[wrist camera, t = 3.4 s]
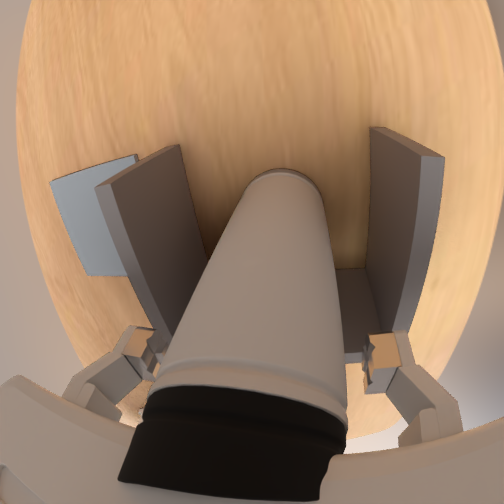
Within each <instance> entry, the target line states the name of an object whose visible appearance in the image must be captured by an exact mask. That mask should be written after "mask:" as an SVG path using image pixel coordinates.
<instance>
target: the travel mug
mask: <svg viewBox="0 0 504 504" xmlns="http://www.w3.org/2000/svg"><path fill="white" fill-rule="evenodd" d="M346 409H347V384H346V368H345V355H344V343H343V332H342V322H341V313H340V305H339V297H338V289H337V282H336V275H335V268H334V261H333V255H332V249H331V243H330V237H329V231H328V226H327V220H326V215H325V210H324V205H323V200H322V197H321V194H320V192H319V190H318V188H317V187H316V185H315V184H314V183H313V182H312V181H311V180H310V179H309V178H307V177H306V176H305V175H303V174H301V173H299V172H297V171H293V170H289V169H274V170H269V171H266V172H263V173H262V174H260V175H258V176H256V177H255V178H254V179H253V180H252V181H251V182H250V183H249V185H248V186H247V187H246V189H245V191H244V193H243V195H242V197H241V199H240V201H239V203H238V204H237V206H236V208H235V210H234V212H233V214H232V216H231V218H230V220H229V222H228V224H227V226H226V228H225V230H224V232H223V234H222V236H221V238H220V240H219V242H218V244H217V246H216V248H215V250H214V252H213V254H212V256H211V258H210V260H209V262H208V264H207V266H206V268H205V270H204V272H203V274H202V276H201V279H200V281H199V283H198V285H197V287H196V289H195V291H194V293H193V295H192V297H191V300H190V302H189V304H188V306H187V308H186V310H185V312H184V314H183V317H182V319H181V321H180V323H179V325H178V327H177V330H176V332H175V334H174V336H173V338H172V341H171V343H170V345H169V347H168V349H167V352H166V354H165V356H164V358H163V361H162V363H161V365H160V368H159V370H158V372H157V376H156V381H155V382H154V383H153V384H152V386H151V388H150V391H149V393H148V396H147V403H146V405H145V408H144V410H143V414H142V419H143V422H142V423H140V424H138V425H137V427H136V430H135V432H134V435H133V437H132V440H131V443H130V446H129V449H128V452H127V454H126V457H125V459H124V462H123V464H122V467H121V470H120V472H119V475H118V477H117V480H118V481H120V482H124V483H131V484H139V485H144V486H149V487H155V488H160V489H166V490H172V491H178V492H184V493H190V494H197V495H205V496H212V497H221V498H232V499H243V500H260V501H290V502H311V501H318V500H319V499H320V486H321V483H322V480H323V478H324V476H325V475H326V473H327V471H328V466H329V462H330V460H331V458H332V457H333V456H334V455H338V454H343V452H344V450H345V448H346V434H347V431H348V418H347V415H346Z"/></svg>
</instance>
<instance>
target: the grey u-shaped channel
mask: <svg viewBox="0 0 504 504" xmlns="http://www.w3.org/2000/svg"><path fill="white" fill-rule="evenodd" d="M370 161H371V177H370V212H369V229H368V243H367V254H366V264H365V268H358V269H335V275H336V282H337V289H338V297H339V305H340V313H341V322H342V332H343V343H344V355H345V364H349V363H362V350H363V347H364V346H365V345H366V343H365V337H366V334H367V333H374V332H385V331H398V330H406V332H407V334H408V332H409V329H410V326H411V324H412V321H413V318H414V315H415V312H416V309H417V305H418V302H419V299H420V296H421V292H422V289H423V285H424V281H425V278H426V274H427V270H428V266H429V262H430V257H431V253H432V248H433V244H434V239H435V233H436V228H437V222H438V216H439V210H440V202H441V195H442V186H443V176H444V163H445V157H443V156H441V155H440V154H438V153H436V152H434V151H432V150H430V149H429V148H427V147H425V146H423V145H421V144H419V143H417V142H415V141H413V140H411V139H409V138H407V137H405V136H403V135H401V134H399V133H396V132H394V131H392V130H390V129H388V128H385V127H370ZM94 190H95V193H96V196H97V199H98V202H99V205H100V208H101V211H102V213H103V216H104V219H105V222H106V224H107V227H108V230H109V232H110V235H111V238H112V240H113V243H114V245H115V248H116V250H117V252H118V255H119V257H120V260H121V262H122V264H123V267H124V269H125V271H126V273H127V276H128V278H129V280H130V282H131V284H132V287H133V289H134V291H135V293H136V295H137V297H138V299H139V301H140V303H141V305H142V307H143V309H144V311H145V313H146V315H147V317H148V319H149V321H150V323H151V325H152V327H153V329H159V330H161V332H162V334H163V337H162V338H163V339H164V340H165V341H167V343H168V345H170V343H171V341H172V338H173V336H174V334H175V332H176V330H177V327H178V325H179V323H180V321H181V319H182V317H183V314H184V312H185V310H186V308H187V306H188V304H189V302H190V300H191V297H192V295H193V293H194V291H195V289H196V287H197V285H198V283H199V281H200V279H201V276H202V274H203V272H204V270H205V268H206V266H207V264H208V261H207V257H206V253H205V250H204V246H203V242H202V238H201V234H200V230H199V227H198V223H197V219H196V215H195V211H194V207H193V202H192V198H191V194H190V190H189V186H188V181H187V177H186V173H185V168H184V164H183V159H182V155H181V150H180V146H179V144H178V145H174V146H169V147H165V148H163V149H161V150H159V151H157V152H155V153H153V154H151V155H149V156H147V157H146V158H144V159H142V160H140V161H138V162H136V163H135V164H133V165H131V166H129V167H127V168H126V169H124V170H122V171H120V172H119V173H117V174H115V175H114V176H112V177H110V178H109V179H107V180H105V181H104V182H102V183H100V184H99V185H97V186H96V187H94Z"/></svg>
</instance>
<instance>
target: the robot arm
mask: <svg viewBox="0 0 504 504" xmlns="http://www.w3.org/2000/svg"><path fill="white" fill-rule="evenodd" d="M162 337H163V334H162V332H161V330H159V329H152V328H145V327H138V326H131V325H130V326H128V327H127V328H126V329H125V331H124V333H123V334H122V336H121V338H120V339H119V341H118V343H117V344H116V346H115V348H114V350H113V351H112V352H109V353H107V354H106V355H104V356H103V357H101V358H100V359H98V360H97V361H95V362H94V363H92V364H91V365H89V366H88V367H86V368H85V369H83V370H82V371H80V372H79V373H77V374H76V375H74V376H73V378H72V379H71V381H70V383H69V384H68V386H67V388H66V390H65V392H64V393H63V395H62V397H60V396H58V395H56V394H54V393H52V392H50V391H48V390H46V389H45V388H43V387H41V386H39V385H37V384H36V383H34V382H32V381H31V380H29V379H27V378H26V377H24V376H22V375H16V376H14V377H13V378H11V379H9V380H8V381H7V382H5V383H4V384H2V385H1V386H0V504H504V417H501V418H499V419H497V420H494V421H492V422H489V423H487V424H484V425H482V426H479V427H476V428H473V429H471V430H467V431H463V427H462V421H461V416H460V411H459V407H458V402H457V400H456V399H454V397H452V396H451V394H449V393H448V392H447V391H446V390H445V389H444V388H443V387H442V386H441V385H440V384H439V383H438V382H437V381H436V380H435V379H434V378H433V377H432V376H431V375H430V374H429V373H428V372H427V371H425V370H424V369H423V368H422V367H421V366H420V365H416V364H415V360H414V356H413V352H412V349H411V345H410V341H409V338H408V334H407V332H406V330H398V331H385V332H374V333H367V334H366V337H365V343H366V345H365V346H364V347H363V350H362V370H363V371H364V372H365V376H364V379H363V383H364V393H365V394H377V393H386V395H387V397H388V398H389V399H390V400H391V402H392V403H393V404H394V406H395V407H396V408H397V410H398V411H399V412H400V414H401V415H402V416H403V418H404V419H405V420H406V422H407V423H408V424H409V426H408V427H407V428H406V429H405V430H404V431H403V432H402V433H401V435H400V436H399V437H398V443H399V448H394V449H387V450H381V451H372V452H364V453H353V454H338V455H334V456H333V457H332V458H331V460H330V462H329V466H328V471H327V473H326V475H325V476H324V478H323V480H322V483H321V486H320V499H319V500H318V501H311V502H290V501H260V500H243V499H232V498H221V497H212V496H205V495H197V494H190V493H184V492H178V491H172V490H166V489H160V488H155V487H149V486H144V485H139V484H131V483H124V482H120V481H118V480H117V477H118V475H119V472H120V470H121V467H122V464H123V462H124V459H125V457H126V454H127V452H128V449H129V446H130V443H131V440H132V437H133V435H134V432H135V430H136V428H135V427H132V426H129V425H126V424H123V423H120V422H119V420H120V418H121V416H122V412H121V411H120V410H119V409H118V408H117V407H116V406H115V405H116V404H117V403H118V402H119V401H120V400H122V399H123V398H124V397H125V396H126V395H127V394H128V393H129V392H130V391H132V390H133V389H134V388H135V387H136V386H137V385H138V384H139V383H140V382H141V381H142V380H148V381H153V382H155V381H156V376H157V372H158V370H159V368H160V365H161V363H162V361H163V358H164V356H165V354H166V352H167V349H168V347H169V345H168V343H167V341H165V340H164V339H163V338H162ZM144 408H145V407H144ZM144 408H143V409H139V412H138V413H139V414H140V415H141V417H140V420H139V424H140V423H142V422H143V419H142V414H143V410H144Z"/></svg>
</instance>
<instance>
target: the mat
mask: <svg viewBox="0 0 504 504" xmlns="http://www.w3.org/2000/svg"><path fill="white" fill-rule="evenodd" d="M136 162H138V157H137V154H135V155H131V156H127V157H124V158H120V159H116V160H113V161H109V162H106V163H103V164H99V165H96V166H93V167H90V168H87V169H84V170H81V171H78V172H75V173H72V174H69V175H66V176H64V177H61V178H58V179H55V180H53V181H51V182H49V183H50V186H51V189H52V192H53V195H54V198H55V201H56V203H57V206H58V209H59V212H60V214H61V217H62V219H63V222H64V224H65V227H66V229H67V232H68V234H69V237H70V239H71V241H72V244H73V246H74V248H75V250H76V253H77V255H78V257H79V259H80V261H81V263H82V265H83V267H84V269H85V272H86V274H87V276H127V273H126V271H125V269H124V267H123V264H122V262H121V260H120V257H119V255H118V252H117V250H116V248H115V245H114V243H113V240H112V238H111V235H110V232H109V230H108V227H107V224H106V222H105V219H104V216H103V213H102V211H101V208H100V205H99V202H98V199H97V196H96V193H95V190H94V187H96V186H97V185H99V184H100V183H102V182H104V181H105V180H107V179H109V178H110V177H112V176H114V175H115V174H117V173H119V172H120V171H122V170H124V169H126V168H127V167H129V166H131V165H133V164H135V163H136Z"/></svg>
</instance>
